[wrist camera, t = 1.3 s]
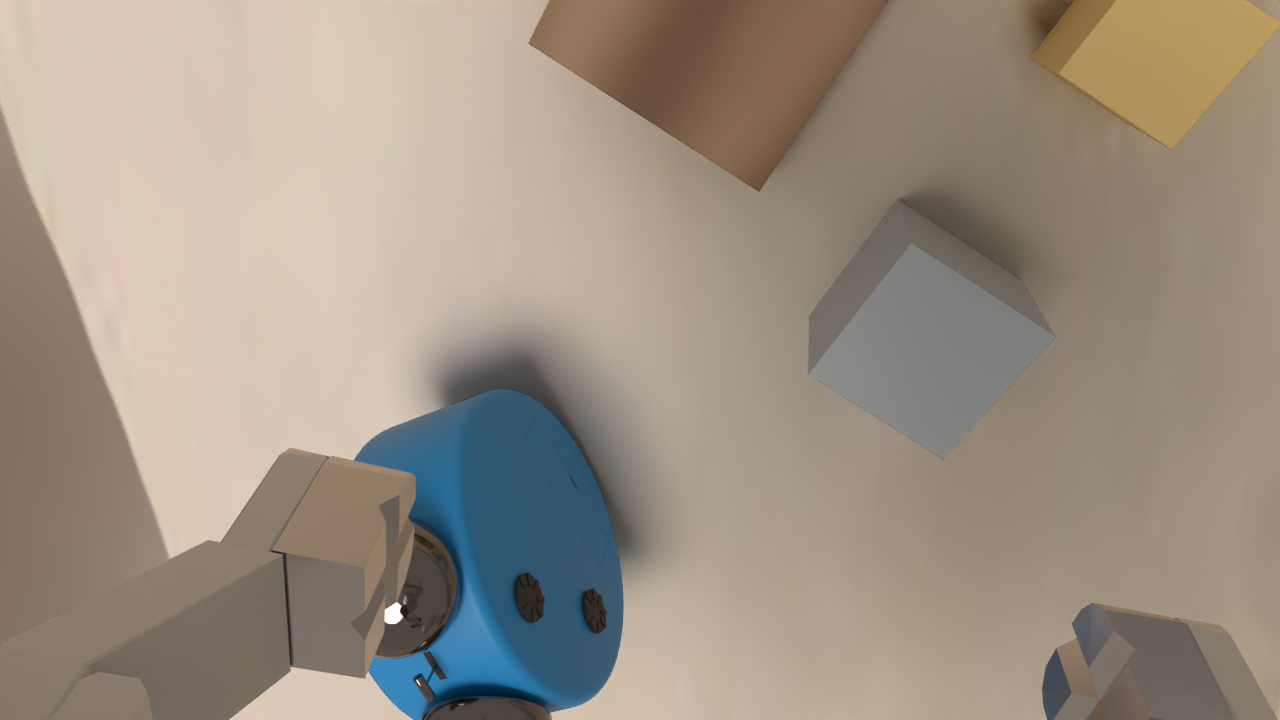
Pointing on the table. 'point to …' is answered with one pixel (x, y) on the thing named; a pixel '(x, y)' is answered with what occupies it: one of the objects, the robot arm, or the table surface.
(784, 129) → the walnut base
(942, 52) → the table surface
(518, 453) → the alarm clock
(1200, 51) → the mustard cube
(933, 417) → the slate cube
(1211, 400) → the table surface
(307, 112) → the table surface
